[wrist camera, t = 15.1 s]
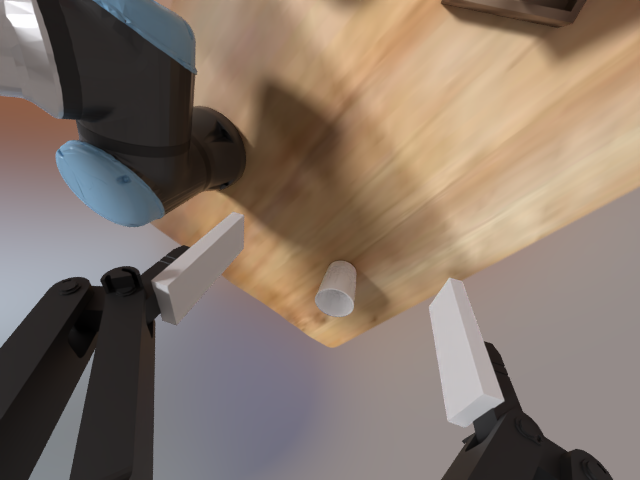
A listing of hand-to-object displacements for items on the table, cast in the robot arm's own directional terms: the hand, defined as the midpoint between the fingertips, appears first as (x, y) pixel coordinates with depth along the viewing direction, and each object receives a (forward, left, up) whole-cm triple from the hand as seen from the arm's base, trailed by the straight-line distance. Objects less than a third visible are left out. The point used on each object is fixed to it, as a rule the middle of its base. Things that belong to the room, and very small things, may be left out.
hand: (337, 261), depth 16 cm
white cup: (+2, -28, -32) cm, 42 cm away
